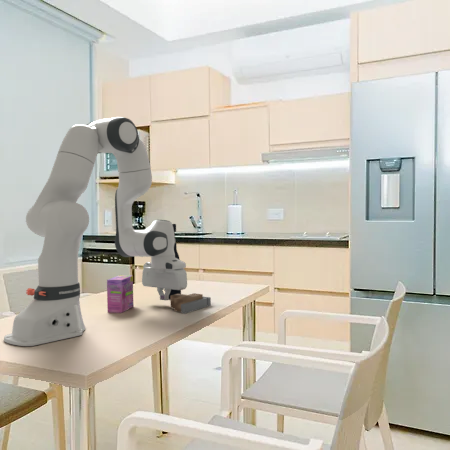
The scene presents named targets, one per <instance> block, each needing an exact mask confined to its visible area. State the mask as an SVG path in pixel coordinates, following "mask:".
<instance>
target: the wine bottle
mask: <svg viewBox="0 0 450 450" xmlns="http://www.w3.org/2000/svg"><path fill="white" fill-rule="evenodd" d="M172 225H173V229H174V239H175V244H174V252H175V258H177V259H179V260H181V259H180V255H179V252H178V250H177V249H178V248H177V242H176V238H175V237H176V235H175V232H176V233H177V224H176V223H172ZM165 292H166V291H164V293H165ZM175 294H182V290H173V289H171V292H170V294H169V299H168V300H170V296H171V295H175Z"/></svg>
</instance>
